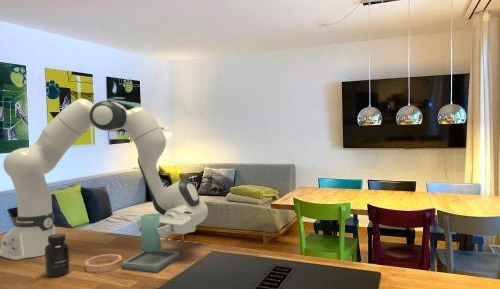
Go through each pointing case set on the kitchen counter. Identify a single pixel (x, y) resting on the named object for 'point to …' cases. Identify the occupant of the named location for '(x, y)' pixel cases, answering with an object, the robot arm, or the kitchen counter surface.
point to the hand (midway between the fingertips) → (148, 230)
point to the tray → (150, 261)
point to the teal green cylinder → (150, 232)
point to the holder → (105, 267)
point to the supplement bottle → (57, 256)
